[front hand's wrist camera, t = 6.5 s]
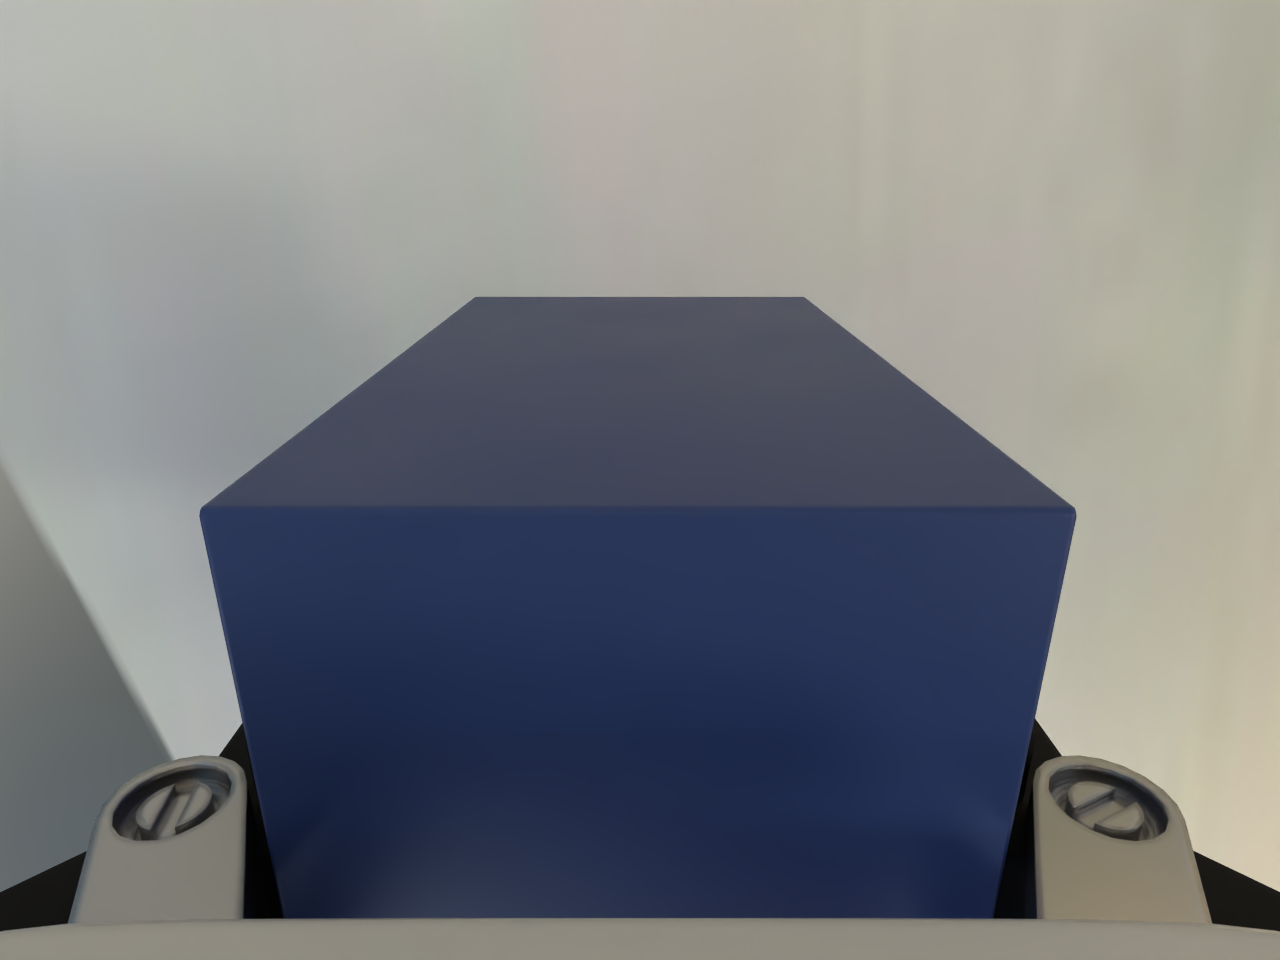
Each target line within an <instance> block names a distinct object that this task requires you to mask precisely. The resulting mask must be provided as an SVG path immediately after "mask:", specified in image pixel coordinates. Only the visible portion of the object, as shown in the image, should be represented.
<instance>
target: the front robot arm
mask: <svg viewBox="0 0 1280 960" xmlns="http://www.w3.org/2000/svg"><path fill="white" fill-rule="evenodd" d="M0 960H1280V892H1278V891H1276V890H1274V889H1272V888H1270V887H1268V886H1266V885H1264V884H1262V883H1259V882H1257V881H1255V880H1253V879H1251V878H1249V877H1247V876H1245V875H1243V874H1241V873H1239V872H1237V871H1234V870H1232V869H1230V868H1228V867H1226V866H1224V865H1222V864H1220V863H1218V862H1216V861H1214V860H1211V859H1209V858H1207V857H1205V856H1203V855H1201V854H1199V853H1197V852H1195V851H1193V848H1192V845H1191V841H1190V837H1189V833H1188V829H1187V826H1186V822H1185V819H1184V817H1183V815H1182V813H1181V811H1180V809H1179V807H1178V805H1177V804H1176V803H1175V802H1174V801H1173V800H1172V799H1171V798H1170V796H1169V795H1168V794H1167V793H1166V792H1165V791H1164V790H1163V789H1161V788H1160V787H1159V786H1157V785H1156V784H1154V783H1153V782H1152V781H1150V780H1149V779H1147V778H1146V777H1144V776H1142V775H1140V774H1138V773H1136V772H1134V771H1132V770H1130V769H1128V768H1126V767H1124V766H1122V765H1119V764H1115V763H1112V762H1109V761H1106V760H1103V759H1099V758H1092V757H1086V756H1062V755H1061V754H1060V753H1059V751H1058V750H1057V748H1056V747H1055V746H1054V744H1053V743H1052V742H1051V740H1050V739H1049V737H1048V736H1047V735H1046V733H1045V732H1044V730H1043V729H1042V728H1041V726H1040V725H1039V723H1038V722H1037V721H1036V719H1034V724H1033V729H1032V733H1031V738H1030V743H1029V748H1028V753H1027V758H1026V762H1025V767H1024V772H1023V777H1022V782H1021V787H1020V791H1019V796H1018V801H1017V806H1016V811H1015V816H1014V820H1013V825H1012V830H1011V835H1010V840H1009V845H1008V849H1007V854H1006V859H1005V864H1004V869H1003V874H1002V878H1001V883H1000V888H999V893H998V898H997V903H996V907H995V912H994V917H993V919H956V918H324V919H284V918H283V914H282V909H281V904H280V899H279V894H278V890H277V885H276V880H275V875H274V870H273V866H272V861H271V856H270V851H269V847H268V842H267V837H266V832H265V827H264V823H263V818H262V813H261V808H260V803H259V799H258V794H257V789H256V784H255V780H254V775H253V770H252V765H251V760H250V756H249V751H248V746H247V741H246V736H245V732H244V727H243V723H242V724H241V726H240V727H239V729H238V730H237V731H236V733H235V734H234V736H233V737H232V738H231V740H230V741H229V743H228V744H227V745H226V747H225V748H224V750H223V751H222V752H221V754H220V755H219V756H194V757H188V758H181V759H177V760H174V761H171V762H168V763H165V764H162V765H158V766H156V767H154V768H152V769H150V770H148V771H146V772H144V773H142V774H140V775H138V776H136V777H134V778H133V779H131V780H130V781H128V782H127V783H126V784H124V785H123V786H121V787H120V788H119V789H117V790H116V791H115V792H114V793H113V794H112V795H111V796H110V798H109V799H108V800H107V801H106V802H105V803H104V804H103V805H102V807H101V809H100V811H99V813H98V815H97V817H96V819H95V822H94V826H93V830H92V833H91V837H90V841H89V845H88V849H87V851H86V852H84V853H82V854H80V855H78V856H75V857H73V858H71V859H69V860H67V861H65V862H63V863H61V864H59V865H57V866H55V867H52V868H50V869H48V870H46V871H44V872H42V873H40V874H38V875H36V876H34V877H32V878H29V879H27V880H25V881H23V882H21V883H19V884H17V885H15V886H13V887H11V888H9V889H6V890H4V891H2V892H0Z"/></svg>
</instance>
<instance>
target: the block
mask: <svg viewBox="0 0 1280 960" xmlns="http://www.w3.org/2000/svg"><path fill="white" fill-rule="evenodd" d="M200 521H201V526H202V531H203V535H204V540H205V545H206V550H207V555H208V559H209V564H210V569H211V574H212V578H213V583H214V588H215V593H216V598H217V602H218V607H219V612H220V617H221V622H222V626H223V631H224V636H225V641H226V645H227V650H228V655H229V660H230V665H231V669H232V674H233V679H234V684H235V689H236V693H237V698H238V703H239V708H240V712H241V717H242V722H243V727H244V732H245V736H246V741H247V746H248V751H249V756H250V760H251V765H252V770H253V775H254V780H255V784H256V789H257V794H258V799H259V803H260V808H261V813H262V818H263V823H264V827H265V832H266V837H267V842H268V847H269V851H270V856H271V861H272V866H273V870H274V875H275V880H276V885H277V890H278V894H279V899H280V904H281V909H282V914H283V918H284V919H324V918H956V919H993V917H994V912H995V907H996V903H997V898H998V893H999V888H1000V883H1001V878H1002V874H1003V869H1004V864H1005V859H1006V854H1007V849H1008V845H1009V840H1010V835H1011V830H1012V825H1013V820H1014V816H1015V811H1016V806H1017V801H1018V796H1019V791H1020V787H1021V782H1022V777H1023V772H1024V767H1025V762H1026V758H1027V753H1028V748H1029V743H1030V738H1031V733H1032V729H1033V724H1034V719H1035V714H1036V709H1037V704H1038V700H1039V695H1040V690H1041V685H1042V680H1043V675H1044V671H1045V666H1046V661H1047V656H1048V651H1049V646H1050V642H1051V637H1052V632H1053V627H1054V622H1055V617H1056V613H1057V608H1058V603H1059V598H1060V593H1061V589H1062V584H1063V579H1064V574H1065V569H1066V564H1067V560H1068V555H1069V550H1070V545H1071V540H1072V535H1073V531H1074V526H1075V521H1076V511H1075V508H1074V507H1073V506H1071V505H1070V504H1069V503H1068V502H1066V501H1065V500H1064V499H1062V498H1061V497H1060V496H1059V495H1057V494H1056V493H1055V492H1053V491H1052V490H1051V489H1050V488H1048V487H1047V486H1046V485H1044V484H1043V483H1042V482H1041V481H1039V480H1038V479H1037V478H1035V477H1034V476H1033V475H1032V474H1030V473H1029V472H1028V471H1026V470H1025V469H1024V468H1023V467H1021V466H1020V465H1019V464H1018V463H1016V462H1015V461H1014V460H1012V459H1011V458H1010V457H1009V456H1007V455H1006V454H1005V453H1003V452H1002V451H1001V450H1000V449H998V448H997V447H996V446H994V445H993V444H992V443H991V442H989V441H988V440H987V439H985V438H984V437H983V436H982V435H980V434H979V433H978V432H976V431H975V430H974V429H973V428H971V427H970V426H969V425H968V424H966V423H965V422H964V421H962V420H961V419H960V418H959V417H957V416H956V415H955V414H953V413H952V412H951V411H950V410H948V409H947V408H946V407H944V406H943V405H942V404H941V403H939V402H938V401H937V400H935V399H934V398H933V397H932V396H930V395H929V394H928V393H926V392H925V391H924V390H923V389H921V388H920V387H919V386H918V385H916V384H915V383H914V382H912V381H911V380H910V379H909V378H907V377H906V376H905V375H903V374H902V373H901V372H900V371H898V370H897V369H896V368H894V367H893V366H892V365H891V364H889V363H888V362H887V361H885V360H884V359H883V358H882V357H880V356H879V355H878V354H876V353H875V352H874V351H873V350H871V349H870V348H869V347H868V346H866V345H865V344H864V343H862V342H861V341H860V340H859V339H857V338H856V337H855V336H853V335H852V334H851V333H850V332H848V331H847V330H846V329H844V328H843V327H842V326H841V325H839V324H838V323H837V322H835V321H834V320H833V319H832V318H830V317H829V316H828V315H826V314H825V313H824V312H823V311H821V310H820V309H819V308H818V307H816V306H815V305H814V304H812V303H811V302H810V301H809V300H807V299H806V298H804V297H475V298H473V299H472V300H471V301H470V302H468V303H467V304H466V305H464V306H463V307H462V308H460V309H459V310H458V311H457V312H455V313H454V314H453V315H451V316H450V317H449V318H447V319H446V320H445V321H444V322H442V323H441V324H440V325H438V326H437V327H436V328H434V329H433V330H432V331H431V332H429V333H428V334H427V335H425V336H424V337H423V338H421V339H420V340H419V341H418V342H416V343H415V344H414V345H412V346H411V347H410V348H408V349H407V350H406V351H405V352H403V353H402V354H401V355H399V356H398V357H397V358H395V359H394V360H393V361H392V362H390V363H389V364H388V365H386V366H385V367H384V368H382V369H381V370H380V371H378V372H377V373H376V374H375V375H373V376H372V377H371V378H369V379H368V380H367V381H365V382H364V383H363V384H362V385H360V386H359V387H358V388H356V389H355V390H354V391H352V392H351V393H350V394H349V395H347V396H346V397H345V398H343V399H342V400H341V401H339V402H338V403H337V404H336V405H334V406H333V407H332V408H330V409H329V410H328V411H326V412H325V413H324V414H323V415H321V416H320V417H319V418H317V419H316V420H315V421H313V422H312V423H311V424H310V425H308V426H307V427H306V428H304V429H303V430H302V431H300V432H299V433H298V434H297V435H295V436H294V437H293V438H291V439H290V440H289V441H287V442H286V443H285V444H283V445H282V446H281V447H280V448H278V449H277V450H276V451H274V452H273V453H272V454H270V455H269V456H268V457H267V458H265V459H264V460H263V461H261V462H260V463H259V464H257V465H256V466H255V467H254V468H252V469H251V470H250V471H248V472H247V473H246V474H244V475H243V476H242V477H241V478H239V479H238V480H237V481H235V482H234V483H233V484H231V485H230V486H229V487H228V488H226V489H225V490H224V491H222V492H221V493H220V494H218V495H217V496H216V497H215V498H213V499H212V500H211V501H209V502H208V503H207V504H205V505H204V506H203V507H202V508H201V510H200Z"/></svg>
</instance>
